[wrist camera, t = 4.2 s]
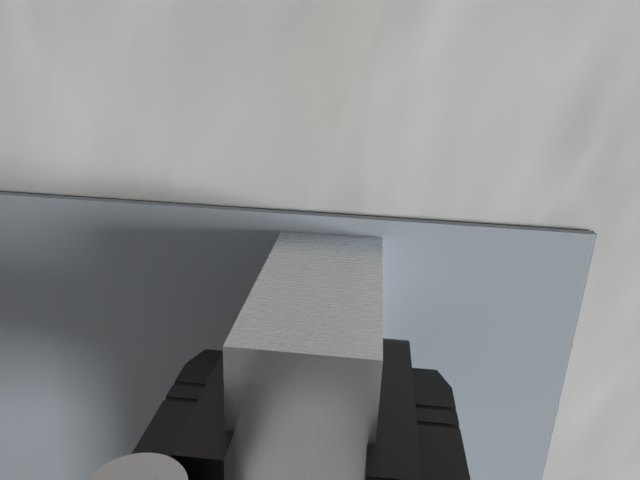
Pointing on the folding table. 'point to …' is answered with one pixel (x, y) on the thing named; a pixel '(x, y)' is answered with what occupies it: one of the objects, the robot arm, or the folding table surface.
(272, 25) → the folding table surface
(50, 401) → the mat
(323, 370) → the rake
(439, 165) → the folding table surface
